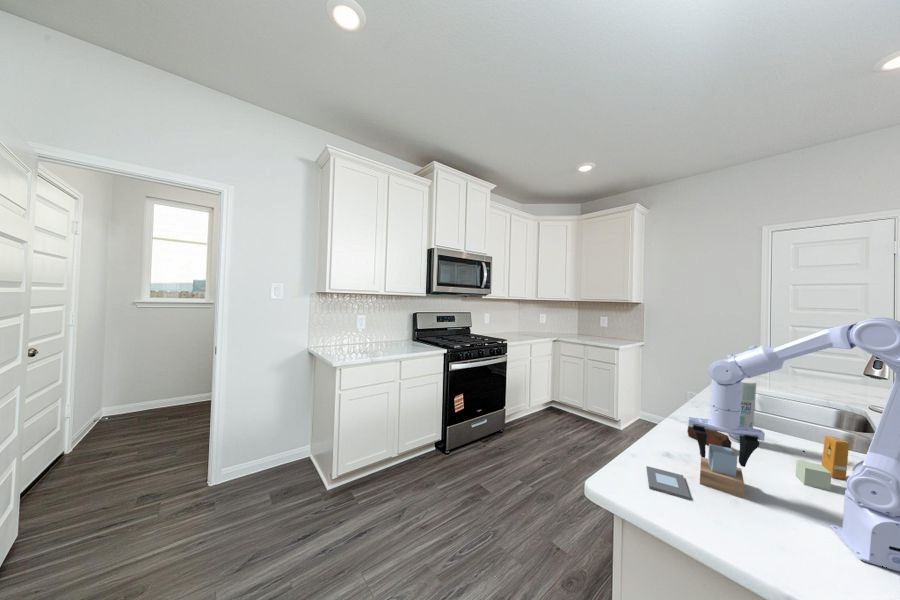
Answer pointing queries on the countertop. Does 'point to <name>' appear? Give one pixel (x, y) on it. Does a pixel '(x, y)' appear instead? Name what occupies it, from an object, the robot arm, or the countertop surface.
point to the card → (667, 482)
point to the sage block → (813, 475)
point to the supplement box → (835, 456)
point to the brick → (712, 437)
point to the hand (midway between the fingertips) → (721, 460)
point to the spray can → (746, 406)
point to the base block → (721, 480)
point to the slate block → (722, 460)
